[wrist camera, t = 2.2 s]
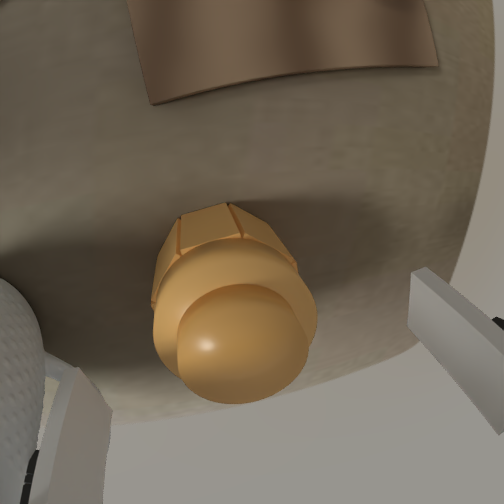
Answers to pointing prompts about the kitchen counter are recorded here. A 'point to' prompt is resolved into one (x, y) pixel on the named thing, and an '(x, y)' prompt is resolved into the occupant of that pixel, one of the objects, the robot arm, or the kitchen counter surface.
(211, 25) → the post board
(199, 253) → the acorn cap nut
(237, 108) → the kitchen counter surface
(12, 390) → the mug
